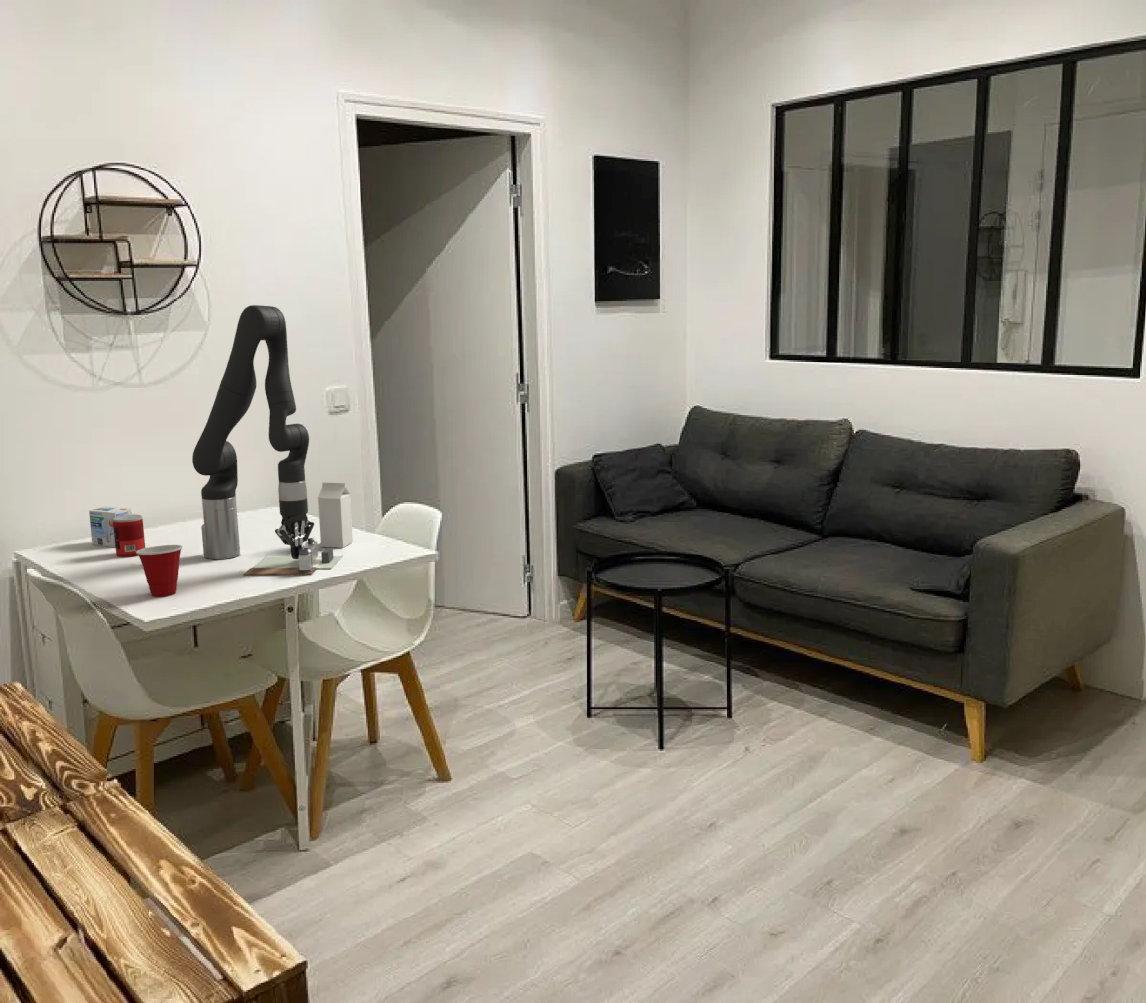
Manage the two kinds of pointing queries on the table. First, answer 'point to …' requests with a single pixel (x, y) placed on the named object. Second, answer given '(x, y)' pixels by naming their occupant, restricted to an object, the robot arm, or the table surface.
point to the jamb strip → (278, 571)
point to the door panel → (293, 562)
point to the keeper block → (327, 555)
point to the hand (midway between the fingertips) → (296, 558)
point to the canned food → (128, 535)
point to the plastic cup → (161, 568)
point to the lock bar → (308, 555)
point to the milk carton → (335, 515)
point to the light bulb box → (105, 524)
